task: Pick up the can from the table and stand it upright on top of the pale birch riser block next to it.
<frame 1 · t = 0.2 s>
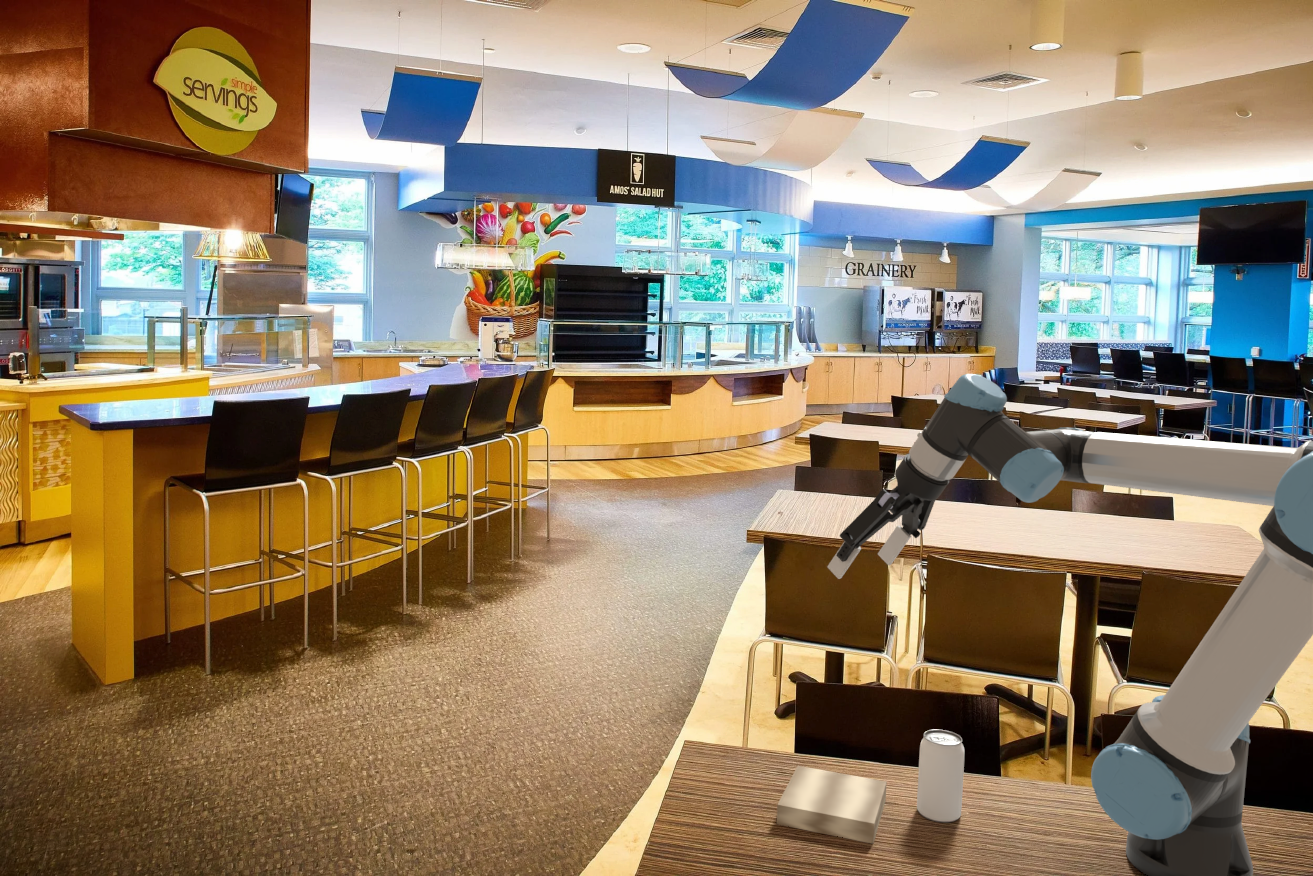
hand: (859, 566, 152), 35 cm above the table, tool tilted 35°, fingers open, 13 cm apart
riser: (832, 811, 142), on the table
can: (938, 814, 143), on the table
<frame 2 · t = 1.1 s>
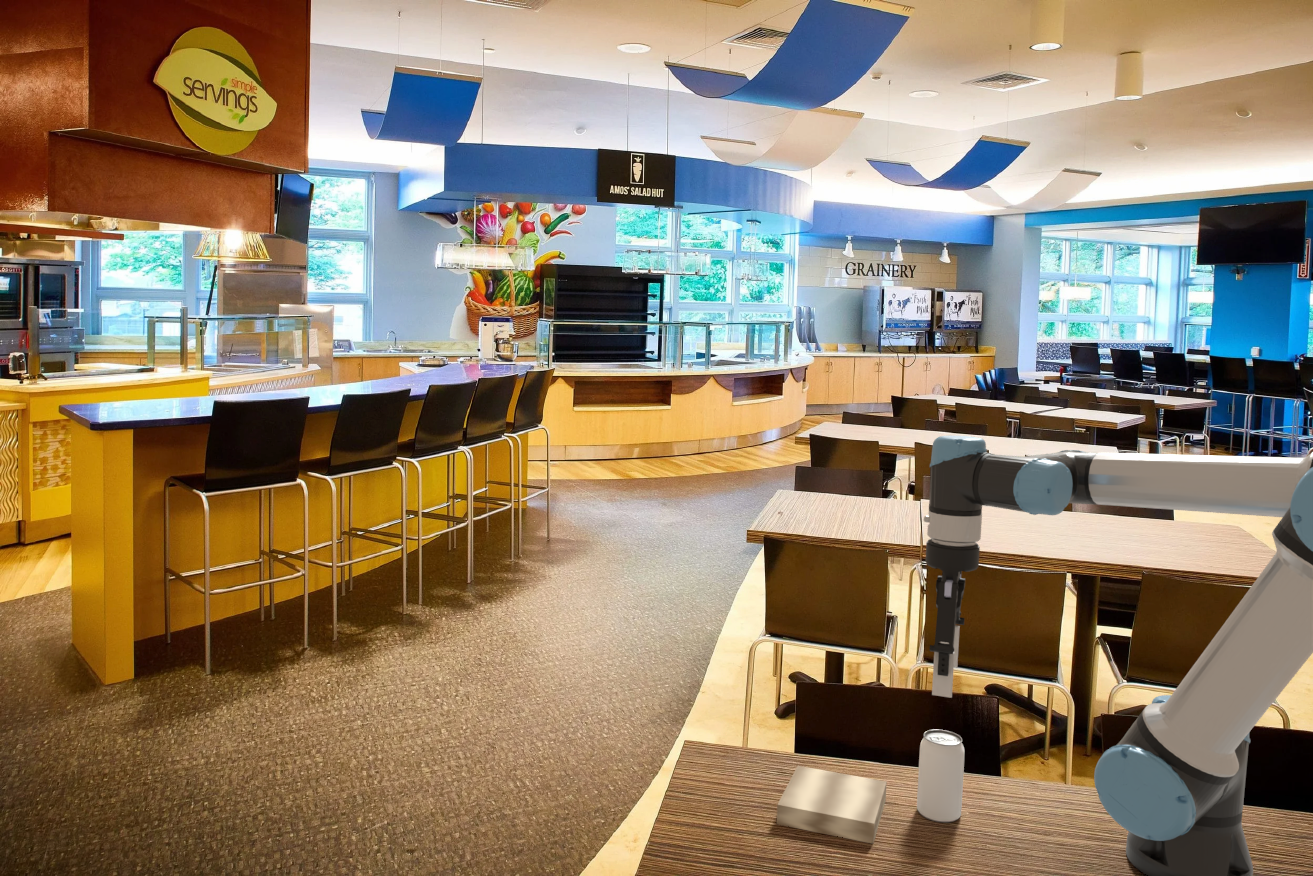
hand: (945, 680, 141), 21 cm above the table, tool pointing down, fingers open, 13 cm apart
nothing on the table moved.
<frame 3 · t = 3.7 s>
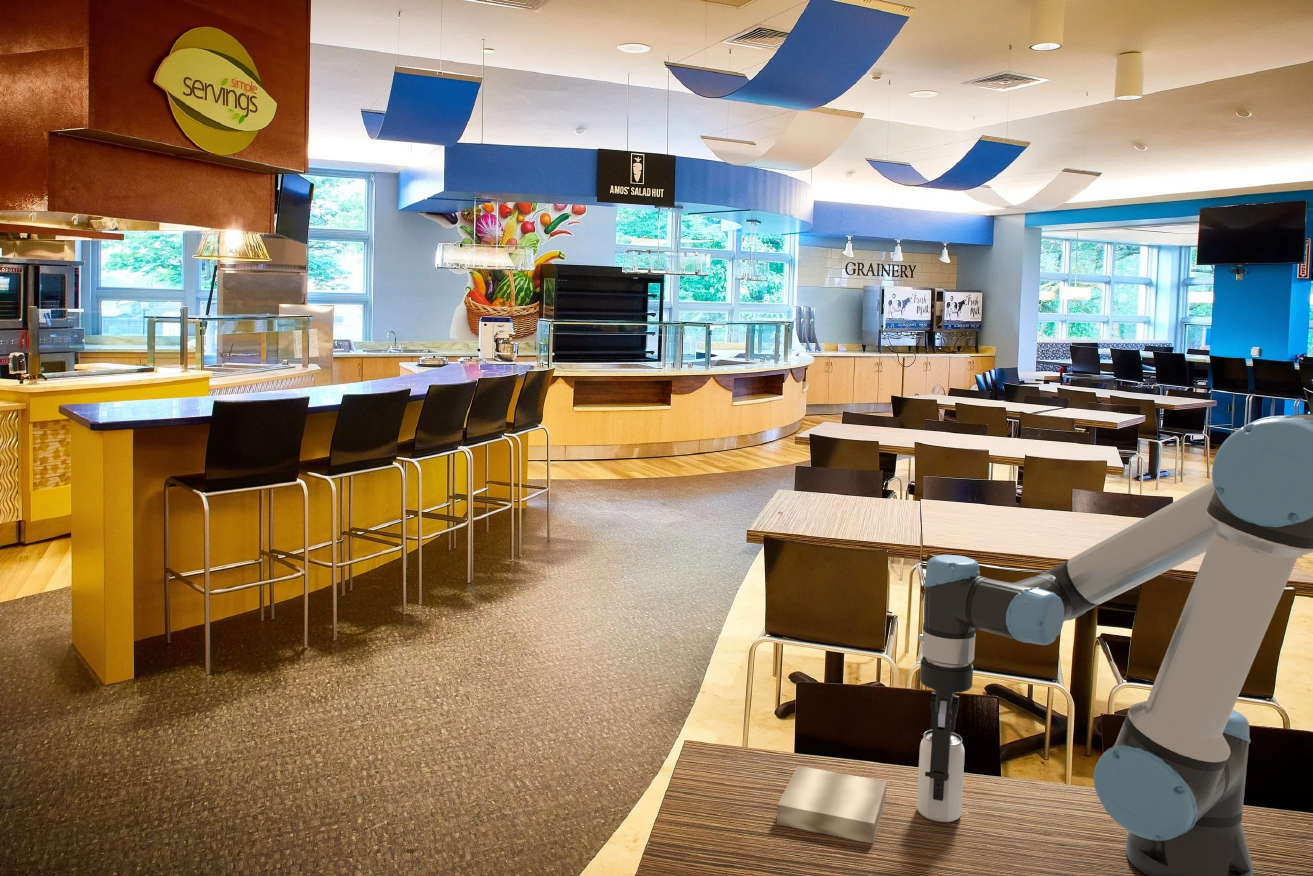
hand: (938, 807, 142), 1 cm above the table, tool pointing down, fingers closed on can, 6 cm apart
can: (938, 814, 143), on the table, touching gripper
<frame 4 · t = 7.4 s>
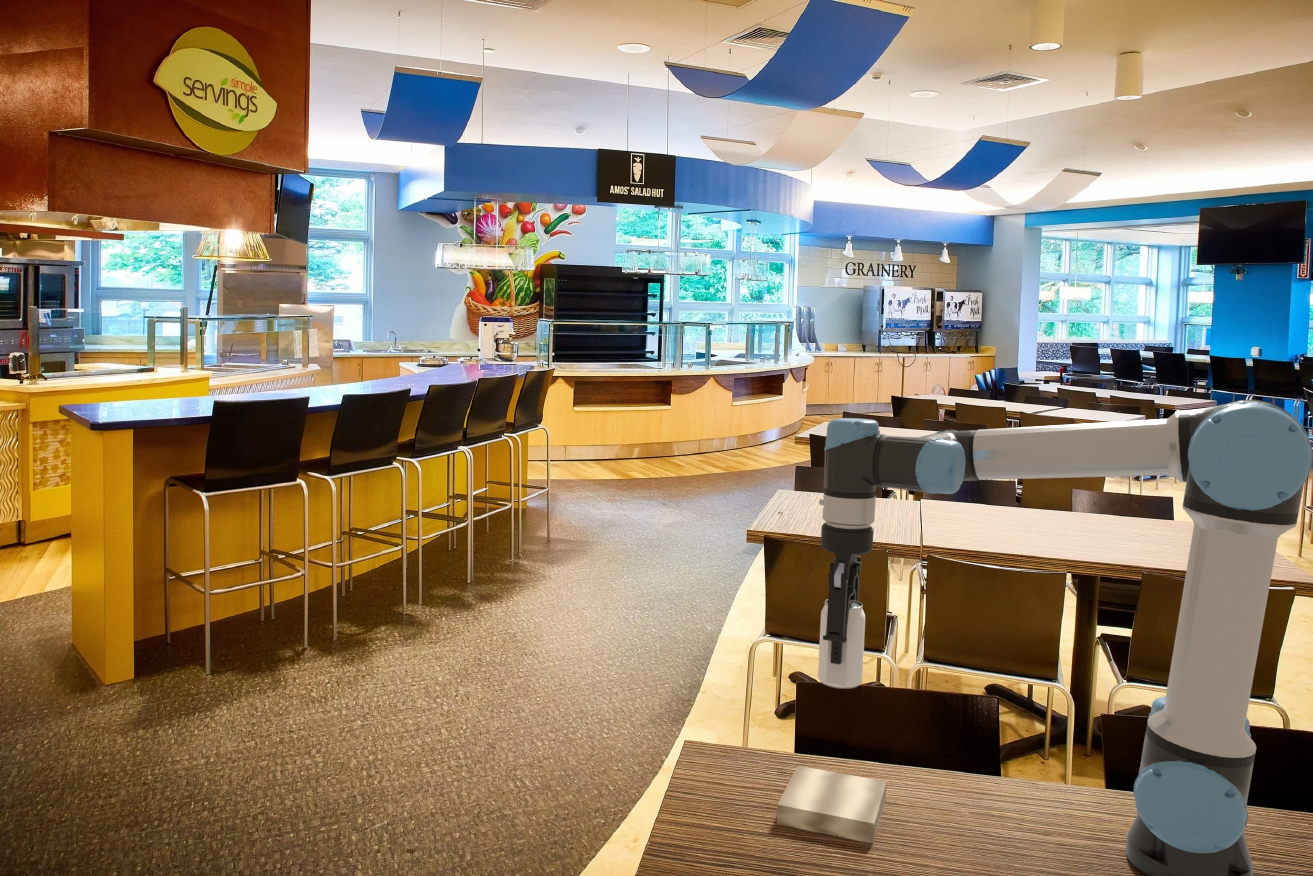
hand: (840, 675, 140), 21 cm above the table, tool pointing down, fingers closed on can, 6 cm apart
can: (839, 683, 140), point 20 cm above the table, touching gripper
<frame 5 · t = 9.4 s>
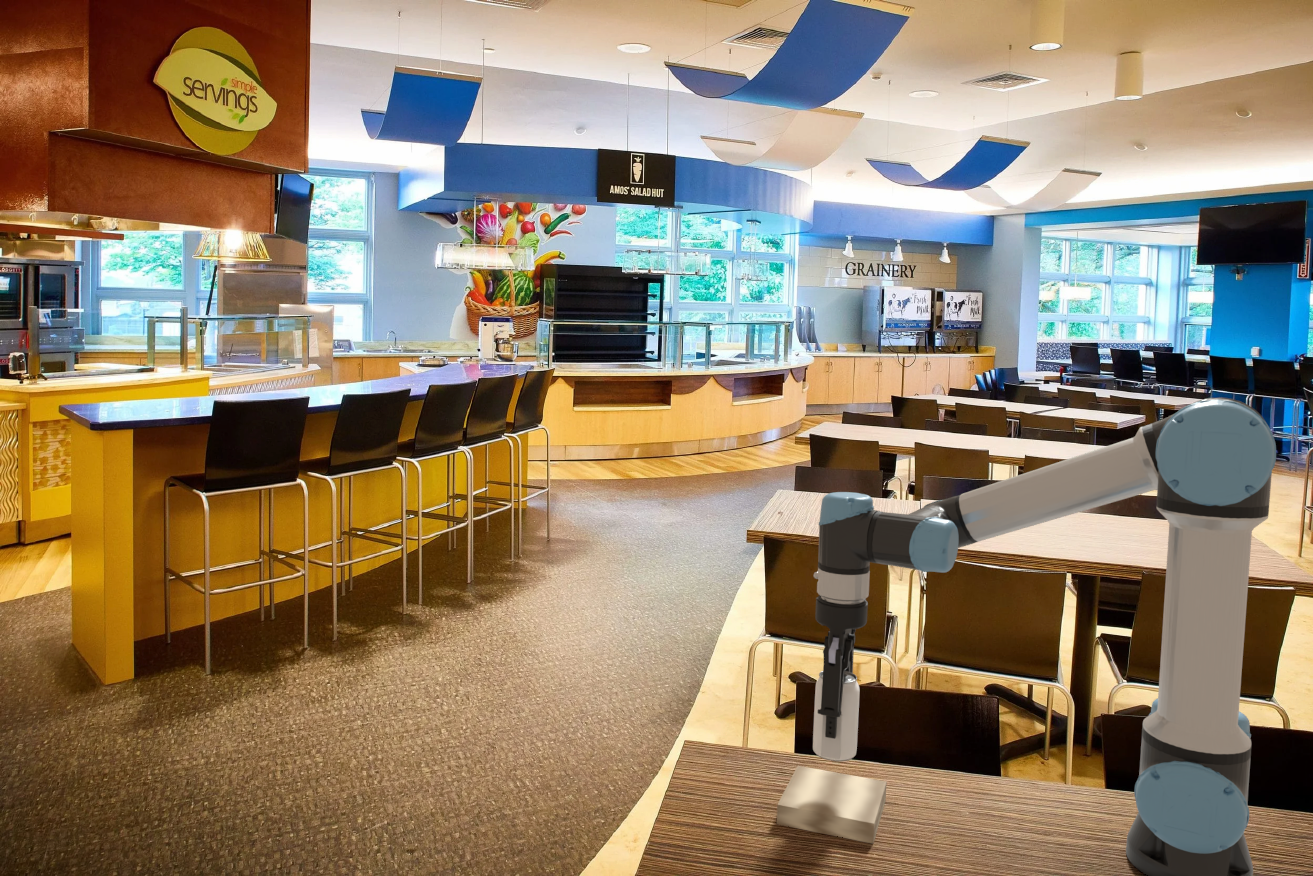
hand: (834, 747, 141), 10 cm above the table, tool pointing down, fingers closed on can, 6 cm apart
can: (834, 754, 141), point 9 cm above the table, touching gripper
when the fingers open (5 cm above the table, at t = 11.1 s): can drops 1 cm, resting on riser.
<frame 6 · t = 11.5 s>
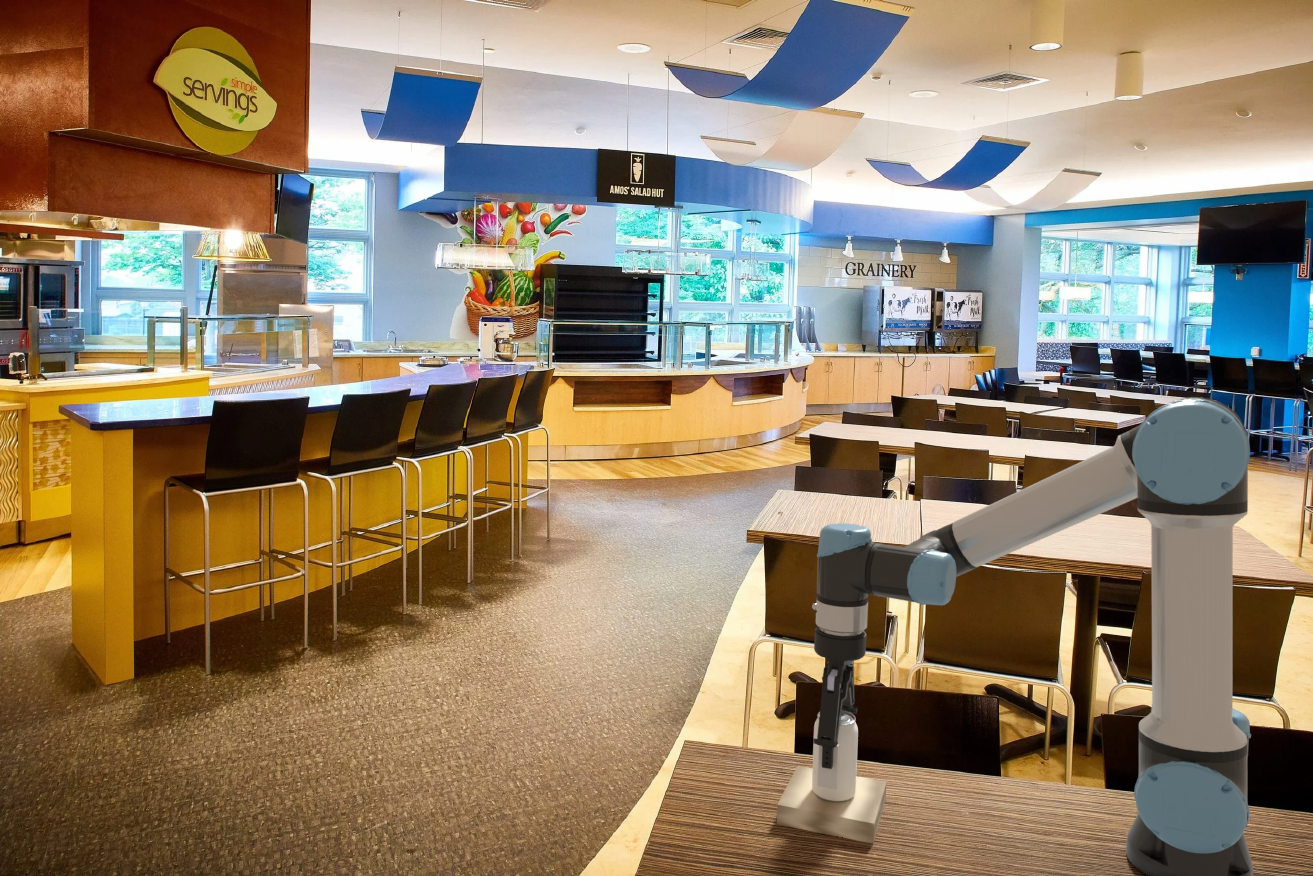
hand: (834, 770, 141), 7 cm above the table, tool pointing down, fingers open, 11 cm apart
can: (833, 793, 142), point 3 cm above the table, touching riser
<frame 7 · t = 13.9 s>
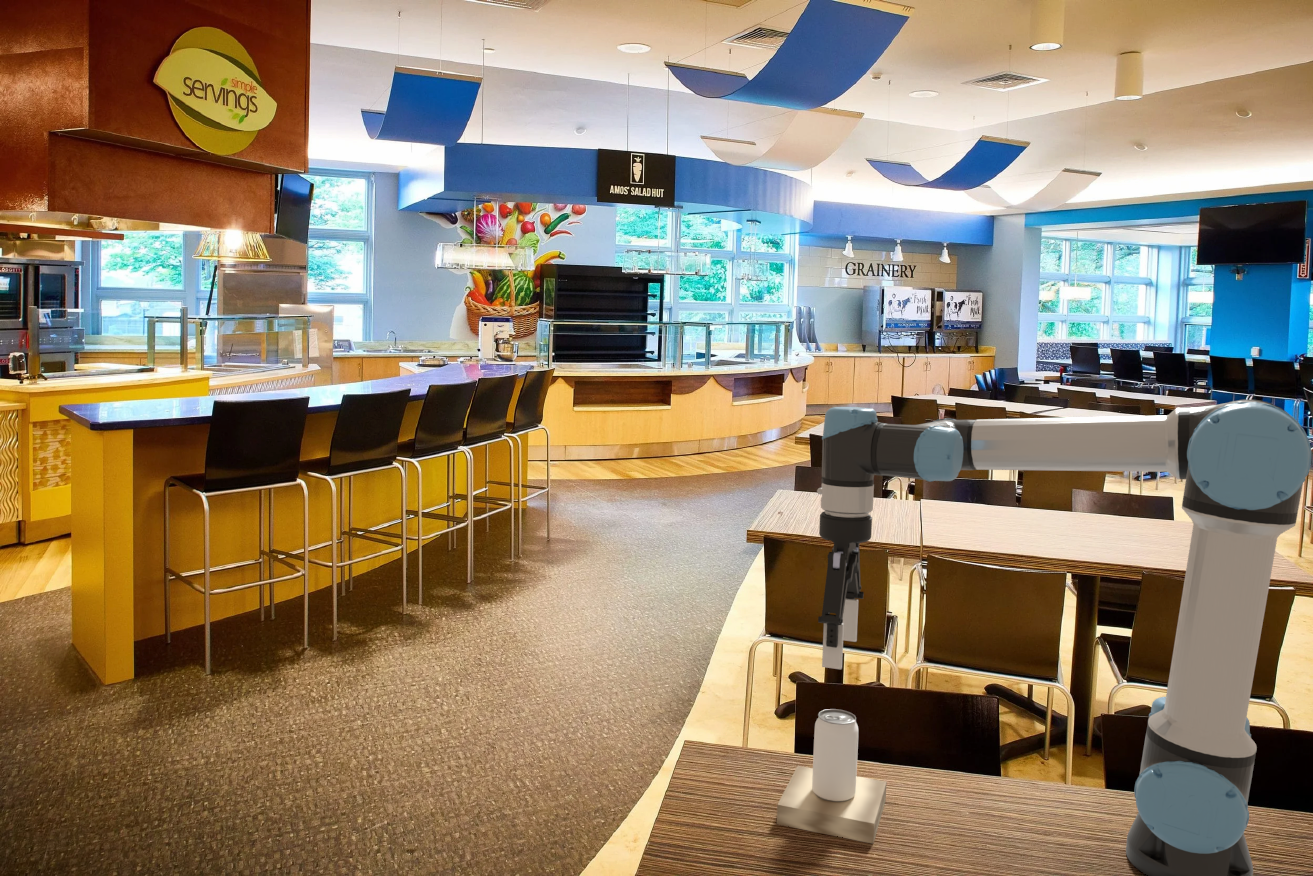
hand: (840, 653, 140), 25 cm above the table, tool pointing down, fingers open, 13 cm apart
nothing on the table moved.
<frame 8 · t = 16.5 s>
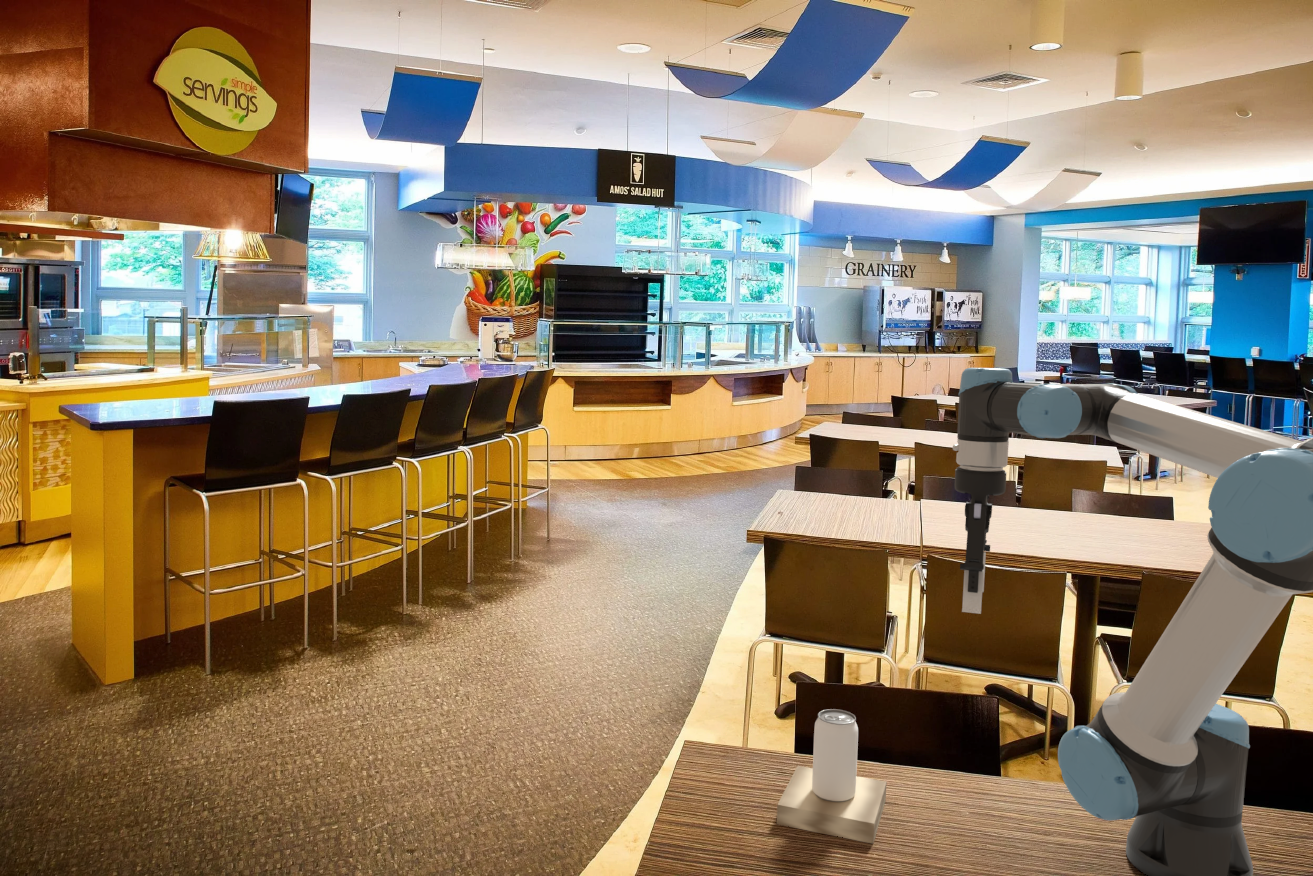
hand: (973, 601, 148), 31 cm above the table, tool pointing down, fingers open, 13 cm apart
nothing on the table moved.
at the end: can inside the target area on the riser (0.1 cm from its centre), point 2.8 cm above the riser's base; can tilted 0°; the gripper is holding nothing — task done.
